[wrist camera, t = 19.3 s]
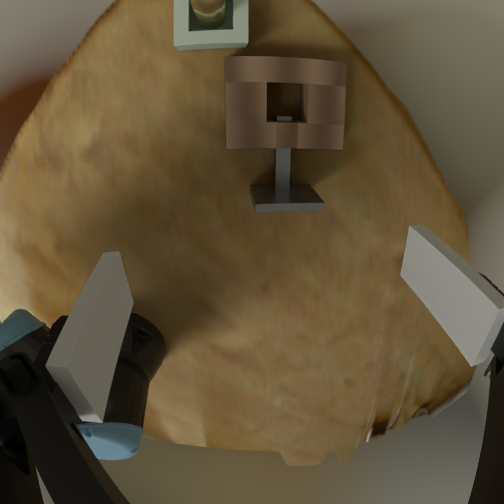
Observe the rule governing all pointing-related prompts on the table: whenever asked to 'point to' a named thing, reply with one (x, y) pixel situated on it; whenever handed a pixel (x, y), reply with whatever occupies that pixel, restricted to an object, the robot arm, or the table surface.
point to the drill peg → (209, 12)
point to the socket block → (311, 103)
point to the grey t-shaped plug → (284, 187)
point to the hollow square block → (198, 37)
